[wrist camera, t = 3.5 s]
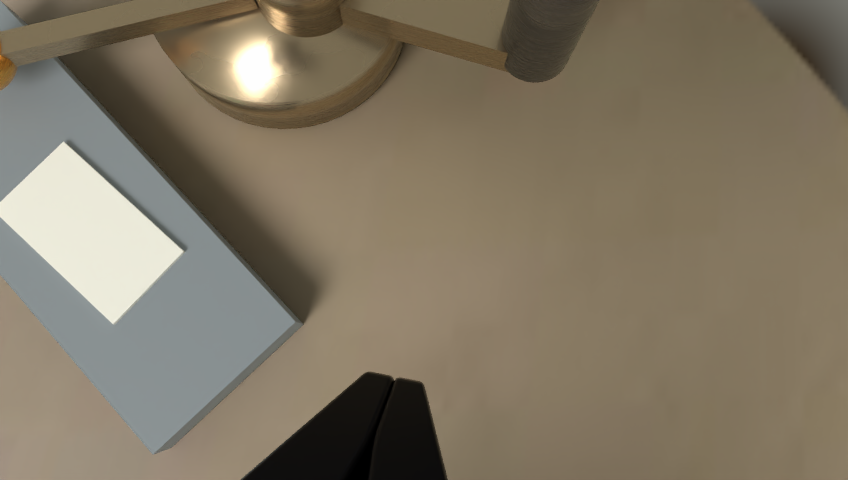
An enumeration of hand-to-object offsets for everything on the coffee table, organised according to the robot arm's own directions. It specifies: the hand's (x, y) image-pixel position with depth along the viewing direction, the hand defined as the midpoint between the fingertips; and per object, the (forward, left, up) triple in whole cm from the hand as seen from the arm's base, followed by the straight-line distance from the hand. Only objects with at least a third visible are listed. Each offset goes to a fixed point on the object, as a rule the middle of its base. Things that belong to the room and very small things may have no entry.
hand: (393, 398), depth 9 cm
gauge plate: (+10, +8, -13) cm, 18 cm away
